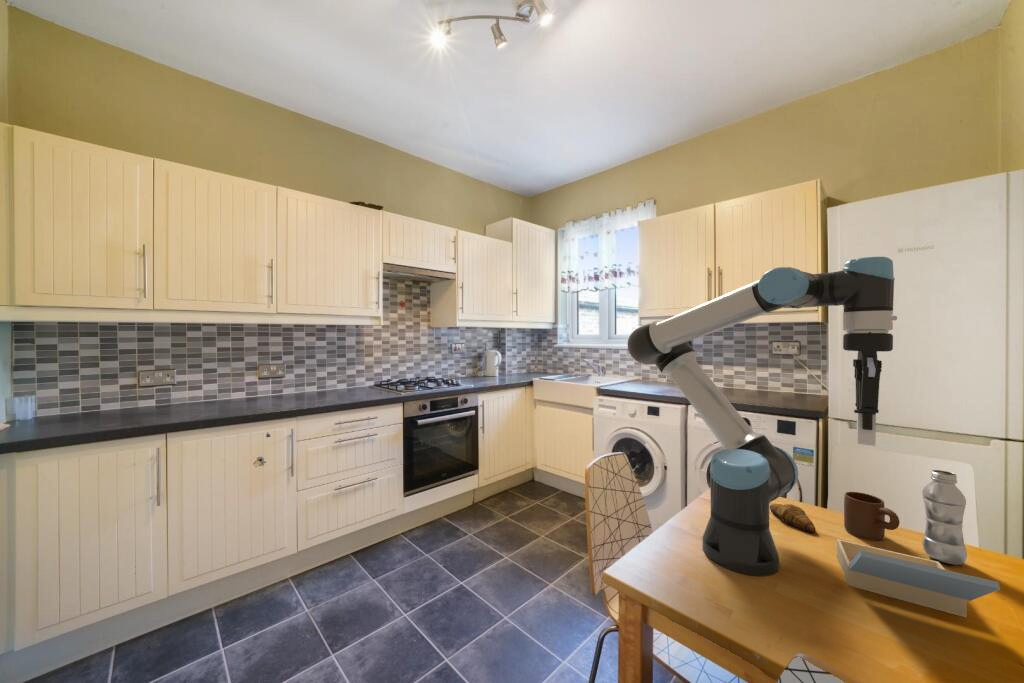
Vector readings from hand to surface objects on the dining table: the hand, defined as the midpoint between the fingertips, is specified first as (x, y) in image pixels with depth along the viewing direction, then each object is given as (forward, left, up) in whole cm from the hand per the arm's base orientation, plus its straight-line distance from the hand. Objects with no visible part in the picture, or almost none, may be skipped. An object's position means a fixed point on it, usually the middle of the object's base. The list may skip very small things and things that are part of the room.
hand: (865, 443), depth 77 cm
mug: (+5, +22, -29) cm, 36 cm away
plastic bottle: (+16, +18, -29) cm, 37 cm away
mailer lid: (+4, -11, -20) cm, 23 cm away
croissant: (-11, +21, -29) cm, 38 cm away
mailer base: (+4, +1, -28) cm, 29 cm away
